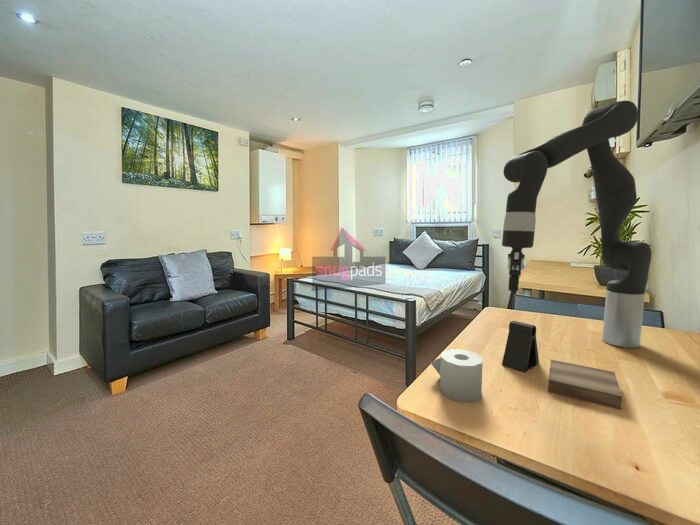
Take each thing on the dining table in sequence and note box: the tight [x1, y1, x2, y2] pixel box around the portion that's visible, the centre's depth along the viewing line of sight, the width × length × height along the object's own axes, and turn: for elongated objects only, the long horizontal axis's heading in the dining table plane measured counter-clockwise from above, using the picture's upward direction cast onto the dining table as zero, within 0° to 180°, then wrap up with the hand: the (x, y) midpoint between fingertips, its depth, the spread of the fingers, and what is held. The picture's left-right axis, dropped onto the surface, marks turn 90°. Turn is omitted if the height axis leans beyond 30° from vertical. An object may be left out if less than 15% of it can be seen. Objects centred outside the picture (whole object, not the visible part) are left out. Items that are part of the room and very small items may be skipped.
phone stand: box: [501, 320, 540, 374], centre depth 85 cm, size 9×6×12 cm, turn 125°
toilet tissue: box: [429, 348, 483, 404], centre depth 73 cm, size 9×13×9 cm
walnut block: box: [547, 359, 623, 411], centre depth 73 cm, size 13×13×3 cm
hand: (512, 288), depth 84 cm, fingers open, 8 cm apart
